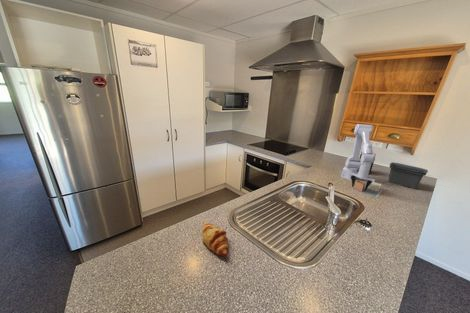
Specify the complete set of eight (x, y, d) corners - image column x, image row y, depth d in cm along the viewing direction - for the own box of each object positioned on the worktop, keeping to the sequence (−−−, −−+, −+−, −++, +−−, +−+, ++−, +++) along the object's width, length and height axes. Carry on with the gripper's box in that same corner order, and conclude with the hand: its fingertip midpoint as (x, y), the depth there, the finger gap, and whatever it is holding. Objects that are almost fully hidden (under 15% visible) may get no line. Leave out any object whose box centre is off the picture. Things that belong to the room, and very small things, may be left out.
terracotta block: (353, 188, 131) (355, 182, 129) (355, 186, 134) (357, 180, 132) (361, 191, 127) (363, 185, 126) (363, 189, 130) (365, 183, 129)
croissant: (200, 234, 87) (191, 224, 83) (217, 220, 90) (209, 210, 86) (219, 268, 70) (210, 258, 66) (240, 250, 73) (232, 238, 69)
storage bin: (383, 181, 147) (388, 164, 143) (387, 176, 157) (392, 160, 153) (419, 192, 132) (427, 173, 128) (421, 185, 143) (428, 168, 138)
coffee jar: (369, 171, 166) (375, 152, 160) (370, 175, 157) (376, 155, 152) (356, 169, 171) (361, 150, 165) (356, 172, 163) (361, 153, 157)
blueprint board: (350, 190, 130) (352, 184, 129) (359, 182, 143) (360, 177, 141) (376, 199, 120) (378, 192, 118) (382, 190, 133) (384, 184, 131)
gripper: (350, 168, 128) (345, 185, 133) (375, 175, 118) (369, 193, 123) (353, 166, 133) (349, 183, 137) (378, 172, 123) (372, 190, 127)
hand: (359, 188), depth 130 cm, fingers open, 7 cm apart
